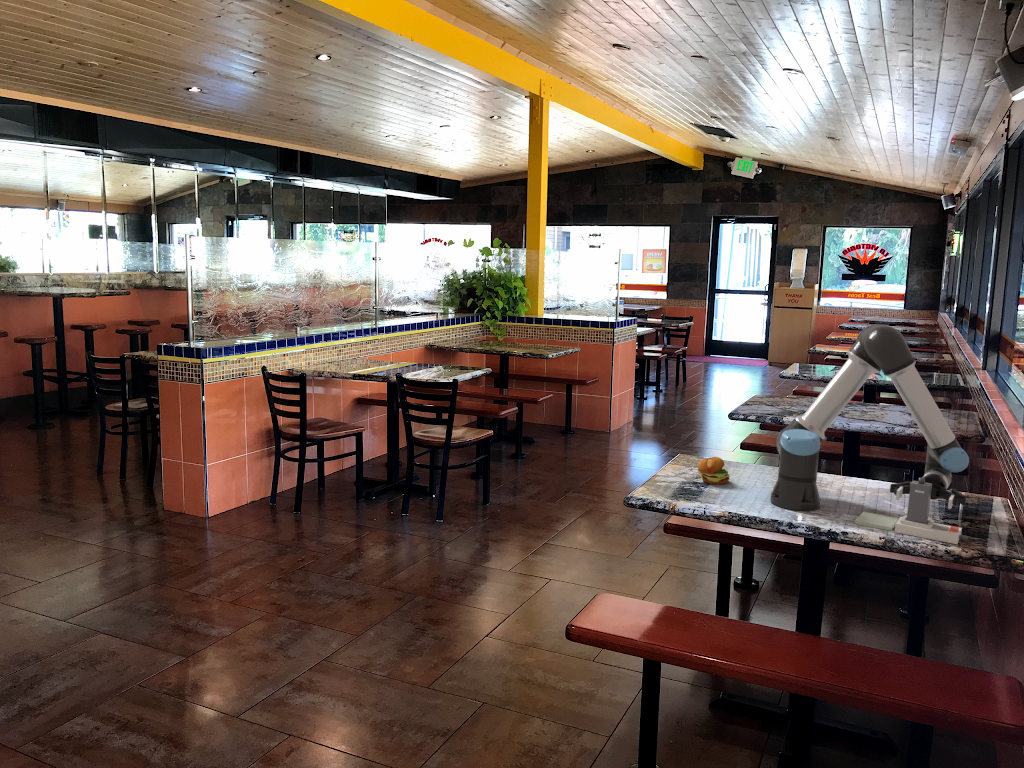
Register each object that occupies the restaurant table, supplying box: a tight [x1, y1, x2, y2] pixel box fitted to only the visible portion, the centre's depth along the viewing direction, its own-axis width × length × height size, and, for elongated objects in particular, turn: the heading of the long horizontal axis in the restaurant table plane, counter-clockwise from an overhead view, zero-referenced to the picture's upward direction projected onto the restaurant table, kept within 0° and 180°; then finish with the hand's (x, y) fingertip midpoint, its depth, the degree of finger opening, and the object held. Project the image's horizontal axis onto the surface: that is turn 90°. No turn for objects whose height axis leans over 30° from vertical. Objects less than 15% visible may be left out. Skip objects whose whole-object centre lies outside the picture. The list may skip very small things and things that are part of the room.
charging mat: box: [854, 511, 900, 531], centre depth 237 cm, size 10×12×1 cm
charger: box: [906, 477, 932, 524], centre depth 228 cm, size 5×4×14 cm
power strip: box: [894, 514, 969, 545], centre depth 227 cm, size 18×9×4 cm, turn 55°
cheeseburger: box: [697, 456, 731, 485], centre depth 279 cm, size 10×11×10 cm
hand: (923, 499), depth 229 cm, fingers open, 13 cm apart
